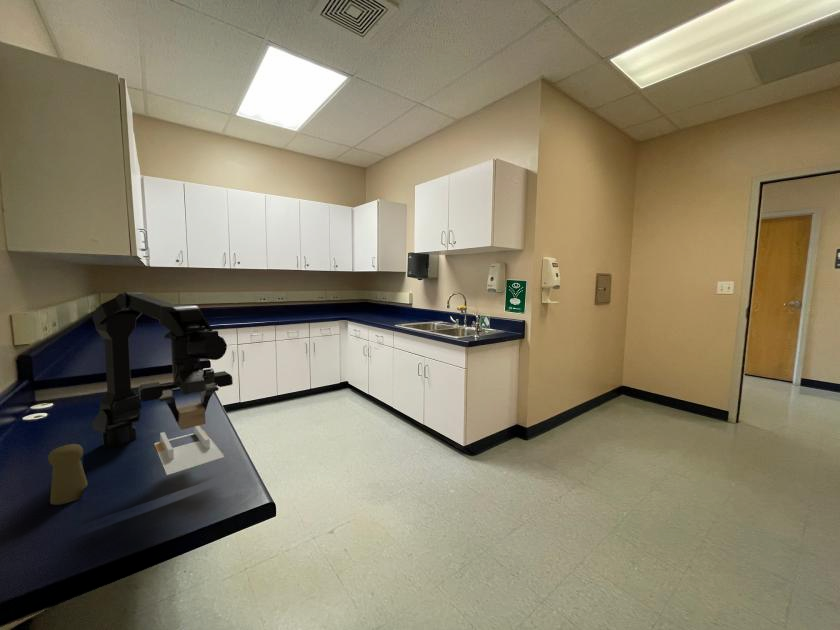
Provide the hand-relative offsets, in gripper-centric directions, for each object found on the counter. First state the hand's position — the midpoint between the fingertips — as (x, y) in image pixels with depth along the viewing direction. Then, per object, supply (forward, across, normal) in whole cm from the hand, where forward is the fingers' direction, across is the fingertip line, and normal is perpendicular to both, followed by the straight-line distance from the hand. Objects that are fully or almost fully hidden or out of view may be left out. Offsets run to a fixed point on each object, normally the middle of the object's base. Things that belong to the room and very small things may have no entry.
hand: (190, 418), depth 86 cm
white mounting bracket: (+12, 0, +6) cm, 14 cm away
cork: (+12, -22, +4) cm, 25 cm away
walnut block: (+1, 0, -1) cm, 1 cm away
